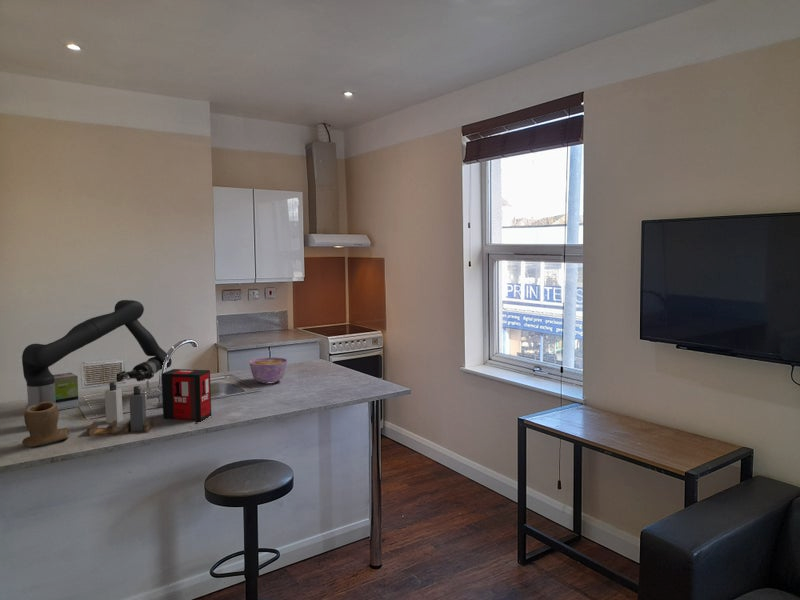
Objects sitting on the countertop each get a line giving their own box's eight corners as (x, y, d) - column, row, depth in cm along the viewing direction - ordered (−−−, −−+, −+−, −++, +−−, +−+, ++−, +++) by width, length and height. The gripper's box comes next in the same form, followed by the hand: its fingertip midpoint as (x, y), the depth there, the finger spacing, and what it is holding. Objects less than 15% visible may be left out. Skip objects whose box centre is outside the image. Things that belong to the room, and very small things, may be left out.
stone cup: (25, 452, 188) (23, 410, 186) (20, 443, 196) (17, 403, 195) (75, 442, 198) (73, 402, 197) (68, 434, 207) (65, 395, 205)
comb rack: (84, 439, 201) (84, 429, 200) (94, 430, 210) (93, 420, 210) (148, 435, 205) (147, 425, 205) (154, 427, 215) (154, 417, 214)
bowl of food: (241, 383, 286) (241, 361, 285) (270, 376, 302) (270, 355, 301) (267, 388, 275) (266, 366, 274) (295, 381, 291) (295, 360, 290)
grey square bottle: (130, 431, 206) (128, 388, 205) (134, 427, 211) (132, 385, 209) (143, 431, 207) (141, 387, 206) (146, 427, 212) (144, 384, 210)
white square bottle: (106, 425, 217) (104, 384, 215) (111, 421, 221) (109, 381, 220) (117, 425, 217) (115, 384, 215) (123, 421, 221) (121, 381, 220)
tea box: (40, 414, 231) (38, 380, 230) (34, 409, 238) (32, 377, 237) (79, 407, 242) (77, 374, 241) (72, 402, 249) (70, 371, 248)
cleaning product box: (211, 416, 229) (209, 370, 227) (200, 422, 220) (199, 375, 218) (175, 414, 231) (173, 369, 229) (163, 421, 222) (161, 373, 221)
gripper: (128, 362, 246) (110, 370, 230) (159, 362, 246) (144, 370, 230) (129, 378, 247) (111, 388, 230) (160, 378, 247) (145, 387, 231)
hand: (127, 379), depth 230 cm, fingers open, 8 cm apart
